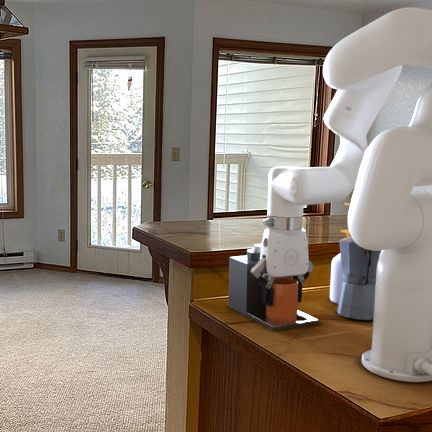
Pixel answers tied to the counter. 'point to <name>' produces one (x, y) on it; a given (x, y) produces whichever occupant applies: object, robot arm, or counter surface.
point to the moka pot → (357, 280)
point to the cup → (284, 301)
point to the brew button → (257, 248)
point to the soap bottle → (337, 274)
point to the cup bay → (274, 326)
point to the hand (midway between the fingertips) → (281, 301)
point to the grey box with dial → (245, 284)
